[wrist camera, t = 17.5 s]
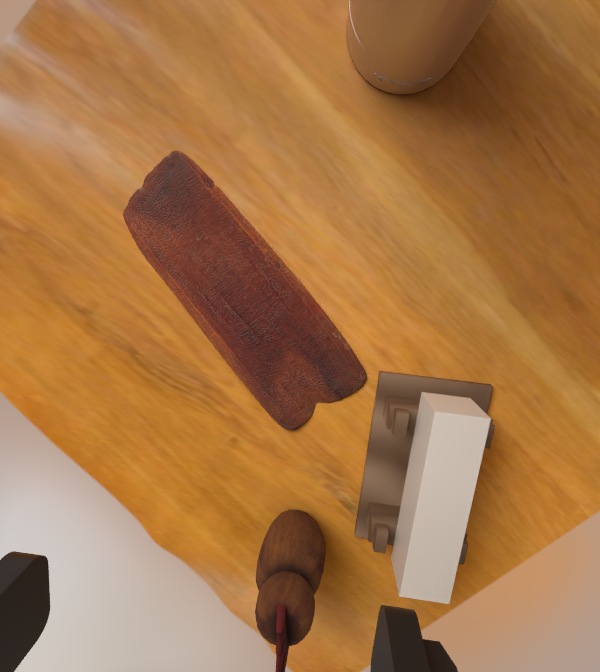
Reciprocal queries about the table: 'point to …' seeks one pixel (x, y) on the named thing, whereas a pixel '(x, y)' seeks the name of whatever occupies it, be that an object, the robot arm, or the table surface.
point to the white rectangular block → (438, 495)
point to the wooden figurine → (288, 580)
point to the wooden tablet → (240, 293)
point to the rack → (400, 449)
